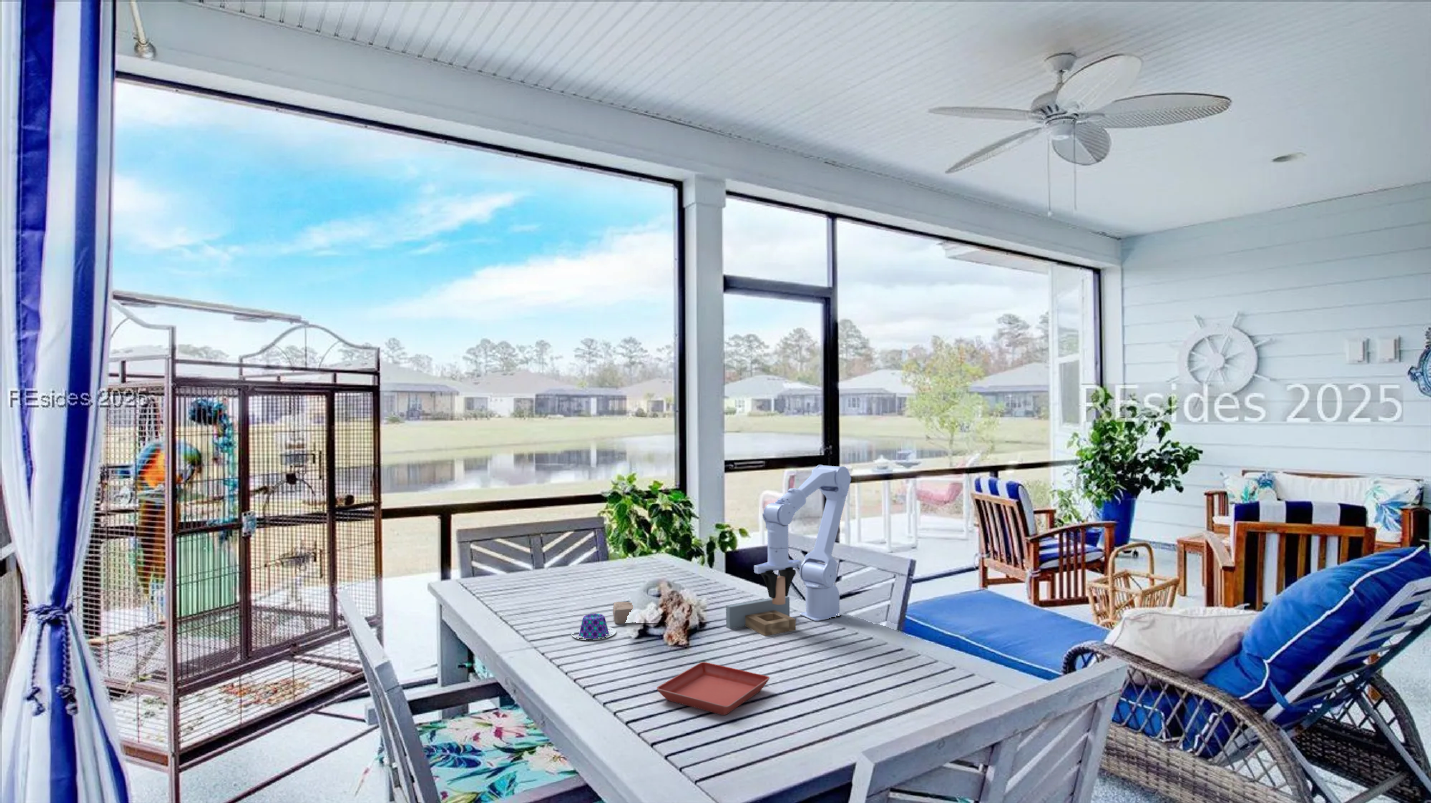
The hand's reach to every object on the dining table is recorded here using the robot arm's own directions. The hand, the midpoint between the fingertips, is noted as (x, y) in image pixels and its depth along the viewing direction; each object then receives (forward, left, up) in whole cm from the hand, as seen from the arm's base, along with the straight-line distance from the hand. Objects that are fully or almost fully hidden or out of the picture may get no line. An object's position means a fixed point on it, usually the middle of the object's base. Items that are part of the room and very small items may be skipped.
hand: (778, 596), depth 203 cm
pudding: (+45, -22, -10) cm, 51 cm away
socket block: (+1, -2, -9) cm, 9 cm away
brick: (+28, -29, -10) cm, 41 cm away
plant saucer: (+37, +31, -10) cm, 49 cm away
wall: (+1, -8, -9) cm, 12 cm away
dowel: (0, 0, -2) cm, 2 cm away
